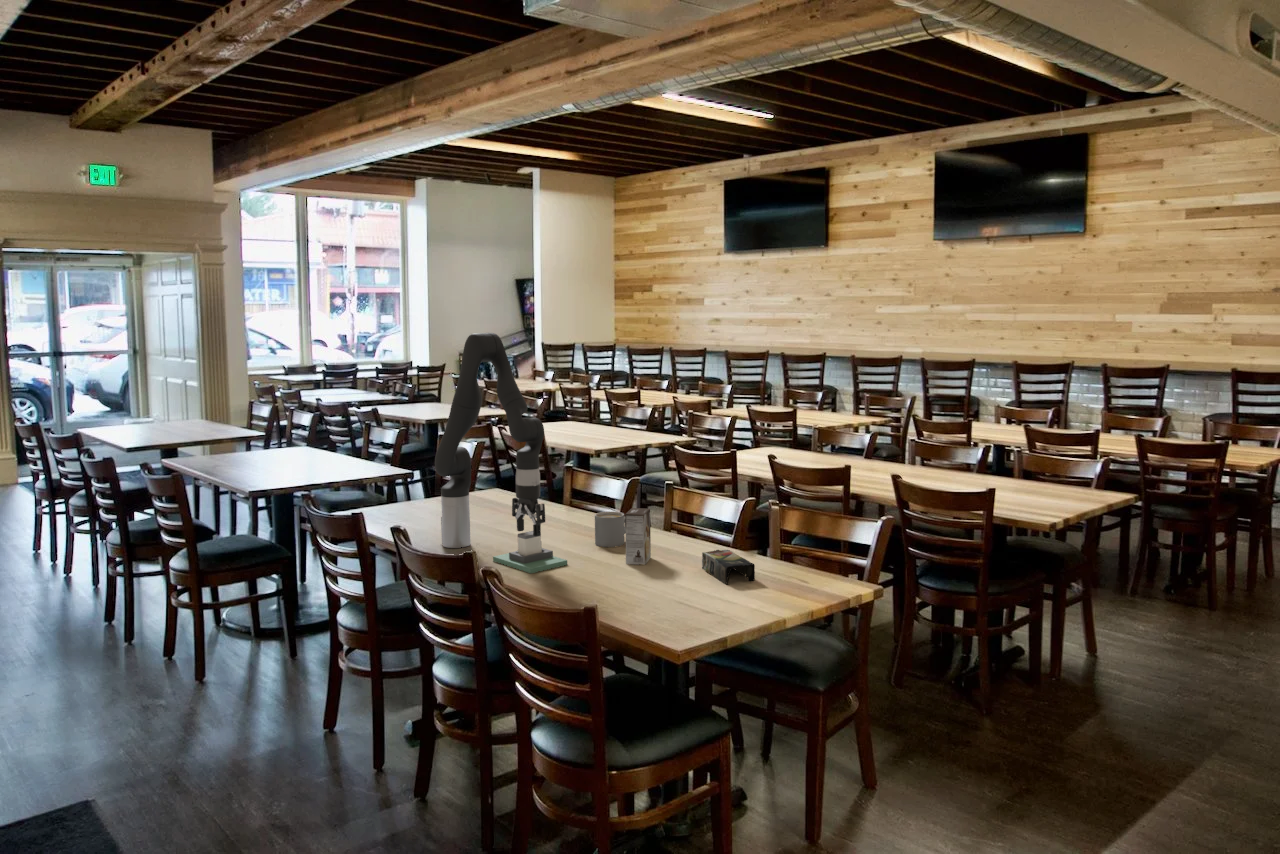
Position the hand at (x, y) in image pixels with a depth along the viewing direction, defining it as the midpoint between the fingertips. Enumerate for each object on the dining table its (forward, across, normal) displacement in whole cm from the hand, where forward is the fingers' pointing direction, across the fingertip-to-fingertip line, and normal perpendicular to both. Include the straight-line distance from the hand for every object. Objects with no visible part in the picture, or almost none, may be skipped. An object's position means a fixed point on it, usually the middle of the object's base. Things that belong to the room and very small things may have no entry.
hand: (528, 533), depth 304 cm
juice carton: (+9, +53, +34) cm, 63 cm away
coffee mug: (+10, -1, +36) cm, 37 cm away
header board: (+9, 0, 0) cm, 9 cm away
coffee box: (+9, +22, +26) cm, 36 cm away
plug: (+8, 0, 0) cm, 8 cm away
